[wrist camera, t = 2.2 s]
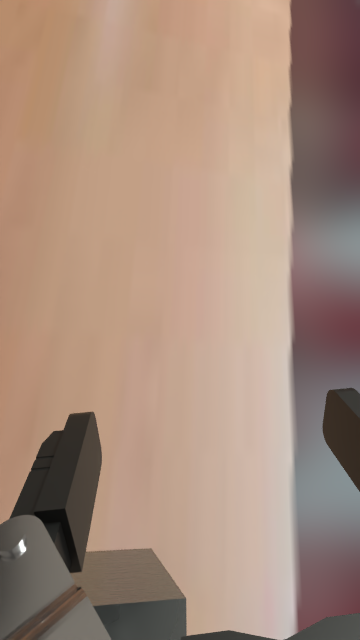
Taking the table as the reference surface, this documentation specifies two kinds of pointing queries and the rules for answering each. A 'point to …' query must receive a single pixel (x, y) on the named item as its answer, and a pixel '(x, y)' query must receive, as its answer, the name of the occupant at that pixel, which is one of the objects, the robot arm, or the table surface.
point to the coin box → (133, 595)
